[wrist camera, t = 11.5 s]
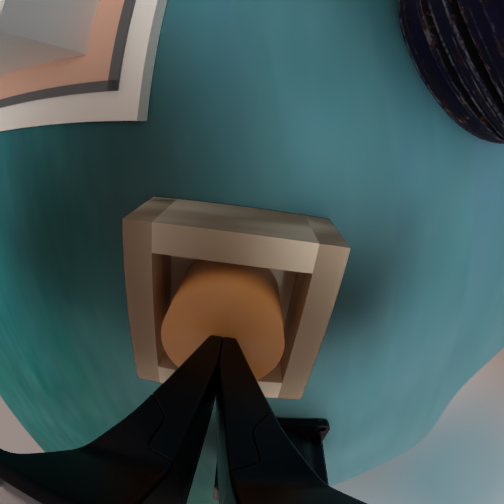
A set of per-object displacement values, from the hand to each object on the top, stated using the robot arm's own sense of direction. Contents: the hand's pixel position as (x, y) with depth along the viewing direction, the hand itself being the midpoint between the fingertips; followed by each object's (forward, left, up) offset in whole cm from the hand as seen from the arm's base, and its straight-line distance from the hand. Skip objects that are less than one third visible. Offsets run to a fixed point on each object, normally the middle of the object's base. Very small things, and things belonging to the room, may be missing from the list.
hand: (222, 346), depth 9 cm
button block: (0, 0, -4) cm, 4 cm away
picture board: (+12, -12, -4) cm, 17 cm away
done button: (0, 0, -3) cm, 3 cm away
